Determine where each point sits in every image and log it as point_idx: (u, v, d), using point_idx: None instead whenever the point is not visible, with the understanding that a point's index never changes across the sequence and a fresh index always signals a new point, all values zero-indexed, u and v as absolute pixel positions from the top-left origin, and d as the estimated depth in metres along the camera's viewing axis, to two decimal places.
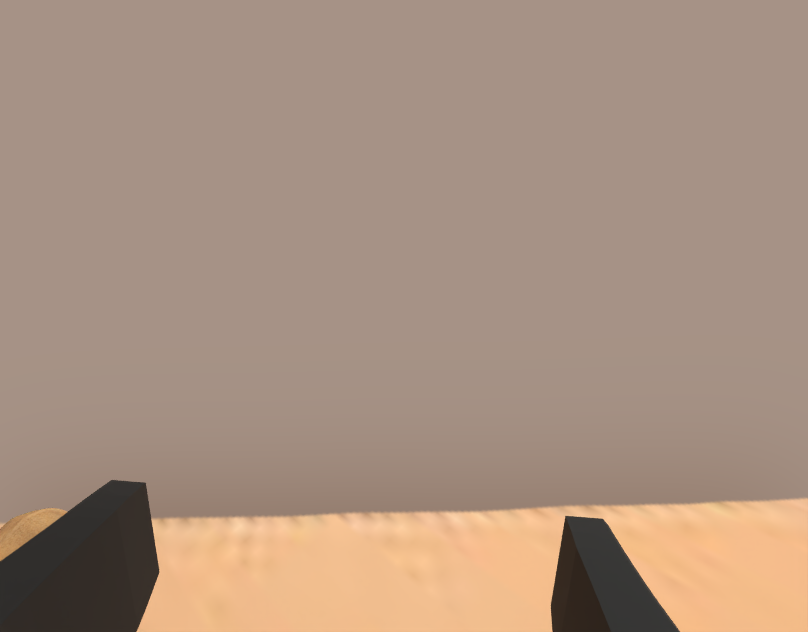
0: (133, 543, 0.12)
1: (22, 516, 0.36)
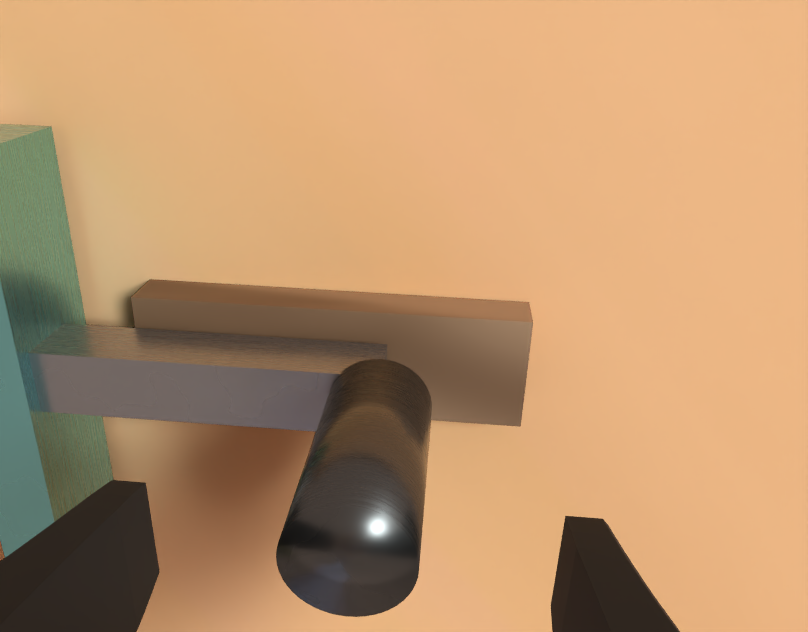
0: (133, 543, 0.12)
1: None
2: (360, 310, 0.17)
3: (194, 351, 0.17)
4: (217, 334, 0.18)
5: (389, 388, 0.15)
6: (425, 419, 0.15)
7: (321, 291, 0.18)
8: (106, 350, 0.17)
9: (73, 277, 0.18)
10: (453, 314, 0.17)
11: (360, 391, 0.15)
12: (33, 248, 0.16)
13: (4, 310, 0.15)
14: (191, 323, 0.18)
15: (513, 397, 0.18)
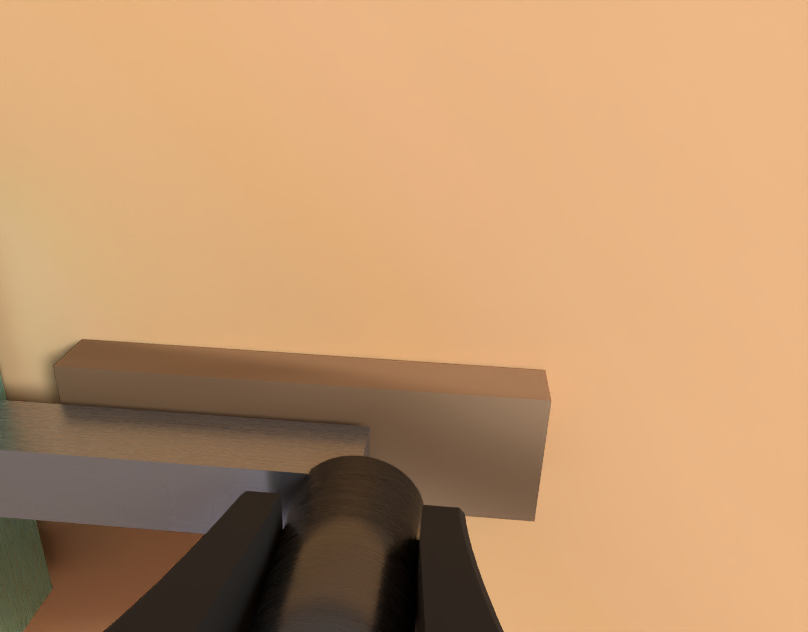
0: (272, 555, 0.11)
1: None
2: (335, 384, 0.14)
3: (127, 438, 0.13)
4: (159, 412, 0.14)
5: (368, 503, 0.11)
6: (415, 541, 0.12)
7: (290, 355, 0.15)
8: (17, 438, 0.13)
9: None
10: (451, 389, 0.14)
11: (330, 508, 0.11)
12: None
13: None
14: (129, 397, 0.15)
15: (526, 487, 0.15)
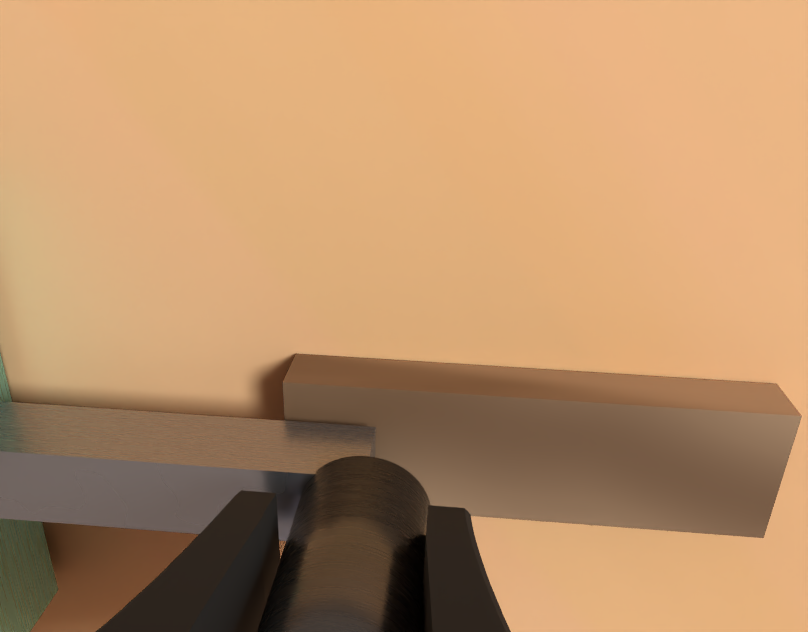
0: (267, 555, 0.11)
1: None
2: (576, 399, 0.14)
3: (133, 440, 0.13)
4: (164, 413, 0.14)
5: (375, 503, 0.11)
6: (422, 541, 0.12)
7: (513, 369, 0.15)
8: (23, 440, 0.13)
9: None
10: (695, 404, 0.14)
11: (337, 509, 0.11)
12: None
13: None
14: (357, 413, 0.14)
15: (760, 504, 0.14)
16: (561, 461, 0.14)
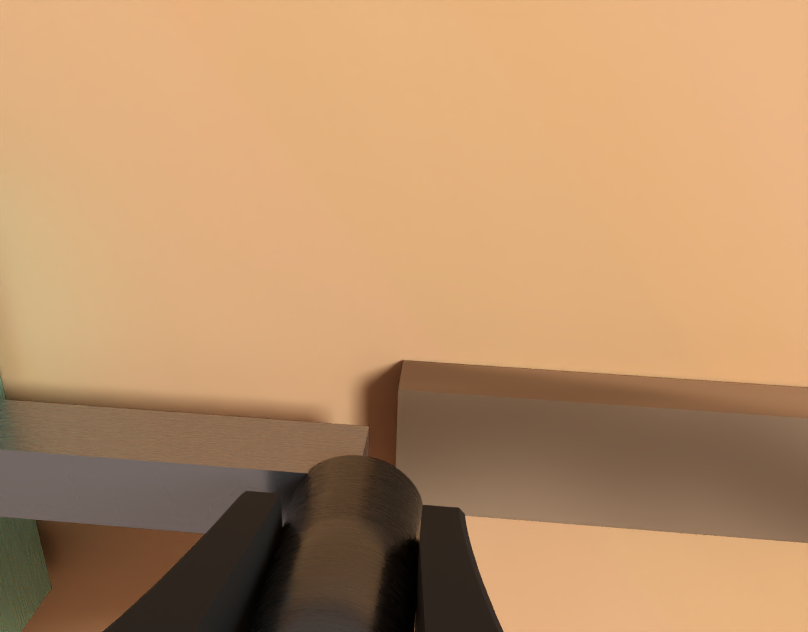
0: (272, 555, 0.11)
1: None
2: (697, 409, 0.14)
3: (125, 438, 0.13)
4: (158, 411, 0.14)
5: (367, 502, 0.11)
6: (414, 541, 0.12)
7: (625, 377, 0.15)
8: (16, 437, 0.13)
9: None
10: None
11: (329, 508, 0.11)
12: None
13: None
14: (471, 421, 0.14)
15: None
16: (677, 471, 0.14)
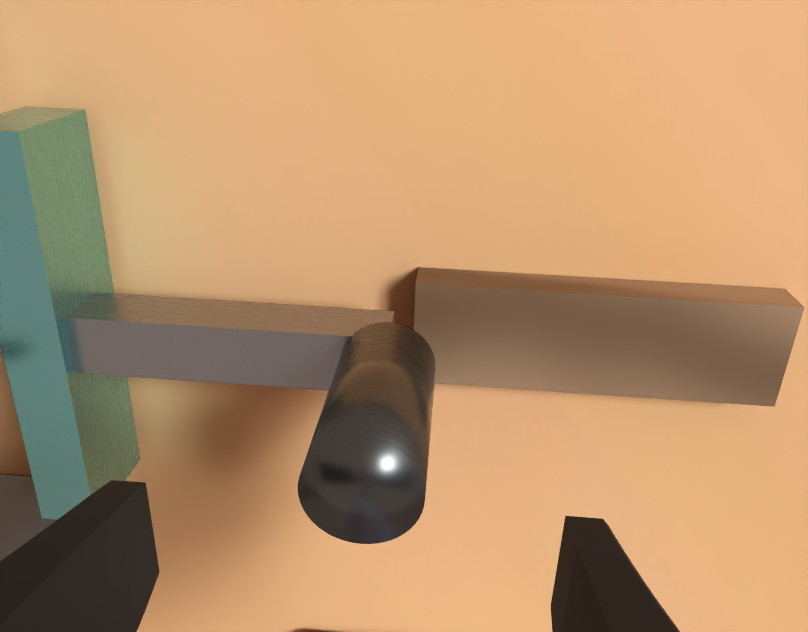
0: (133, 543, 0.12)
1: None
2: (636, 296, 0.18)
3: (217, 316, 0.18)
4: (236, 302, 0.19)
5: (397, 346, 0.16)
6: (429, 375, 0.16)
7: (585, 278, 0.19)
8: (137, 315, 0.18)
9: (103, 250, 0.20)
10: (725, 300, 0.18)
11: (370, 349, 0.16)
12: (69, 221, 0.18)
13: (44, 276, 0.17)
14: (470, 308, 0.19)
15: (773, 378, 0.19)
16: (623, 345, 0.19)
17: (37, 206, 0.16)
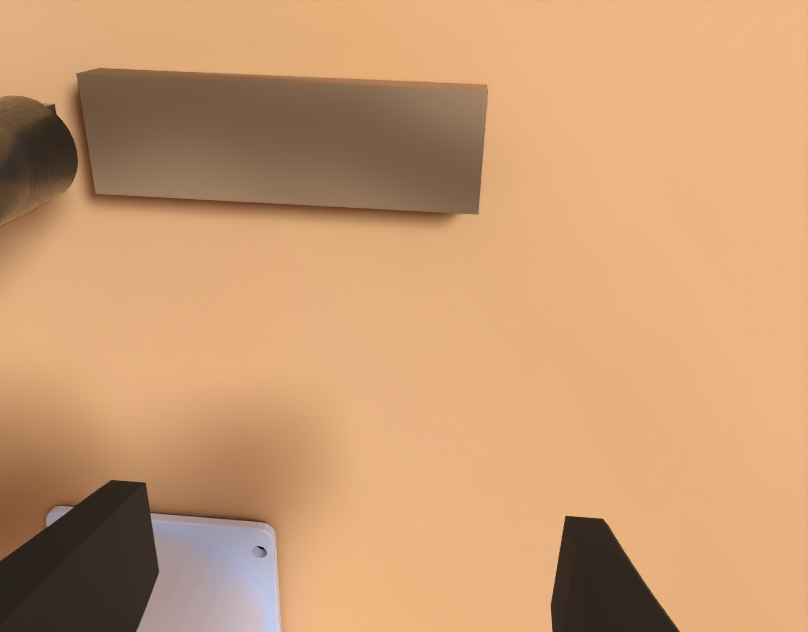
0: (133, 543, 0.12)
1: None
2: (310, 83, 0.17)
3: None
4: None
5: None
6: (39, 141, 0.15)
7: (274, 76, 0.18)
8: None
9: None
10: (406, 87, 0.17)
11: None
12: None
13: None
14: (139, 102, 0.17)
15: (470, 180, 0.18)
16: (307, 144, 0.18)
17: None
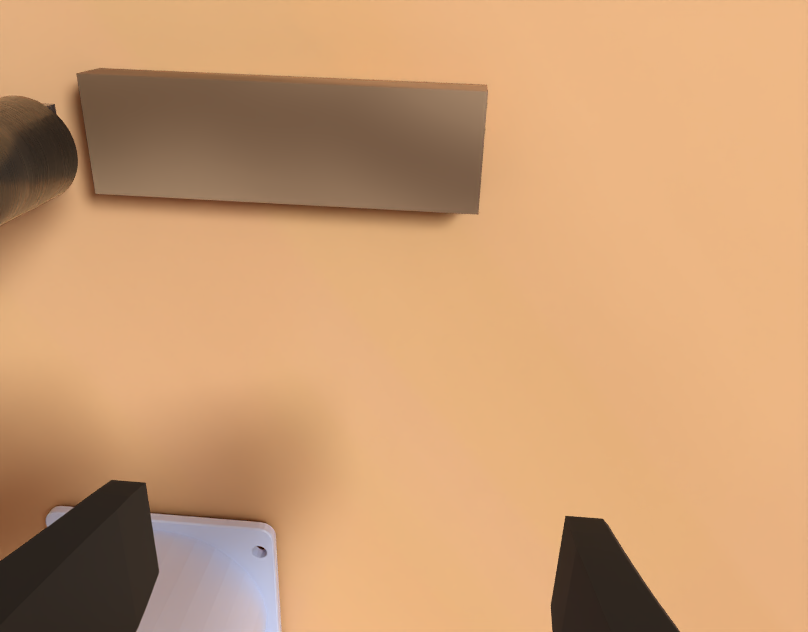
0: (133, 543, 0.12)
1: None
2: (310, 83, 0.17)
3: None
4: None
5: None
6: (39, 141, 0.15)
7: (274, 76, 0.18)
8: None
9: None
10: (406, 87, 0.17)
11: None
12: None
13: None
14: (139, 102, 0.17)
15: (470, 180, 0.18)
16: (307, 144, 0.18)
17: None
